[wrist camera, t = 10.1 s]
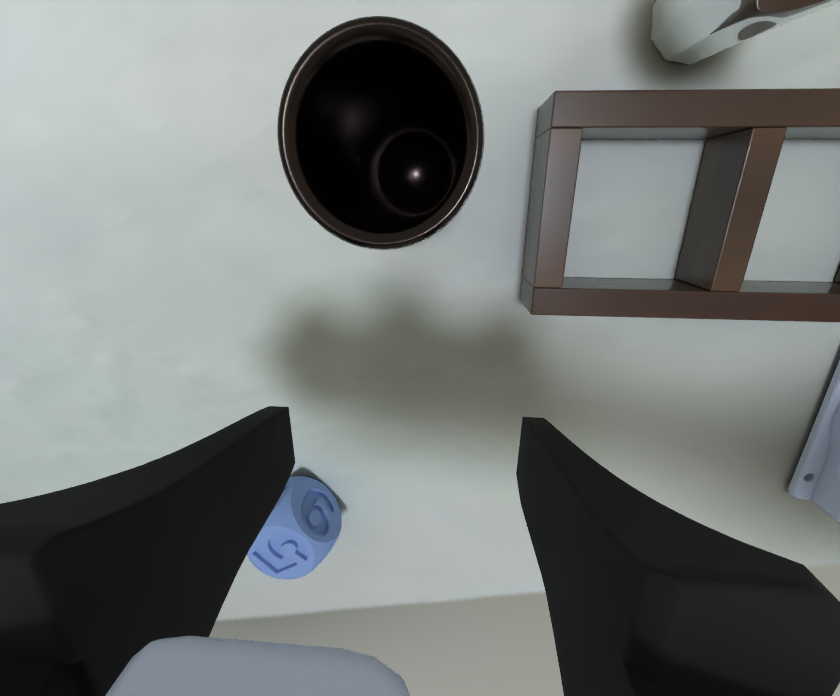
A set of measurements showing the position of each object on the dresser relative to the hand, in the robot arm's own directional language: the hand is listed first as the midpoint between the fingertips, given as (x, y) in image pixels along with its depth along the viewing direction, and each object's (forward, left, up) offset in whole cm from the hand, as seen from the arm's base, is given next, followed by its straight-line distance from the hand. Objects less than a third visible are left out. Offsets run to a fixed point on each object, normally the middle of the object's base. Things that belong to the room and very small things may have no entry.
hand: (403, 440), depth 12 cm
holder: (+7, -13, -9) cm, 17 cm away
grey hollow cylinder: (+8, 0, -10) cm, 12 cm away
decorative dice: (-11, +7, -10) cm, 16 cm away
